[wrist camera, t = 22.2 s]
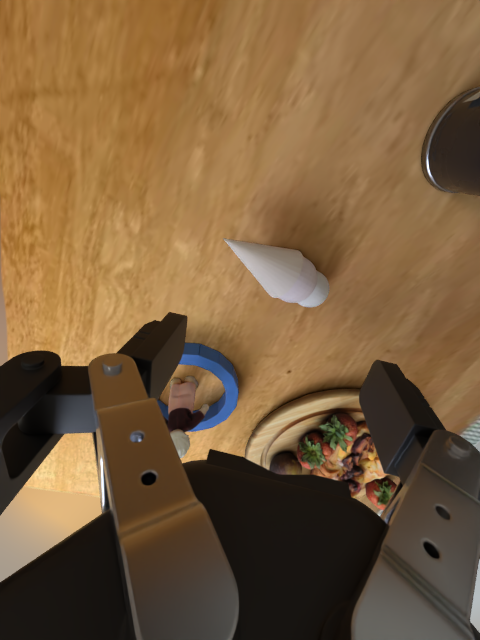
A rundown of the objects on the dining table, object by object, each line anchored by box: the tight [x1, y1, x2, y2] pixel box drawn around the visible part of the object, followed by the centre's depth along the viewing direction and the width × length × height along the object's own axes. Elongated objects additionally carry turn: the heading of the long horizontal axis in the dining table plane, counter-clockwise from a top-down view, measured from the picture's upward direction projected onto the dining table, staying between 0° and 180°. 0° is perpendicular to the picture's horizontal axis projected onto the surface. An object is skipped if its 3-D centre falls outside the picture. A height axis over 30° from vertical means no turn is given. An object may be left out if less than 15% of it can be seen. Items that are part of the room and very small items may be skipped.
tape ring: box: [157, 343, 239, 432], centre depth 44 cm, size 16×16×3 cm
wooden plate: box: [245, 389, 398, 510], centre depth 51 cm, size 32×32×8 cm
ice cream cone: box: [223, 238, 329, 307], centre depth 33 cm, size 6×6×15 cm
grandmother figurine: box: [160, 376, 209, 458], centre depth 40 cm, size 8×4×13 cm, turn 108°
